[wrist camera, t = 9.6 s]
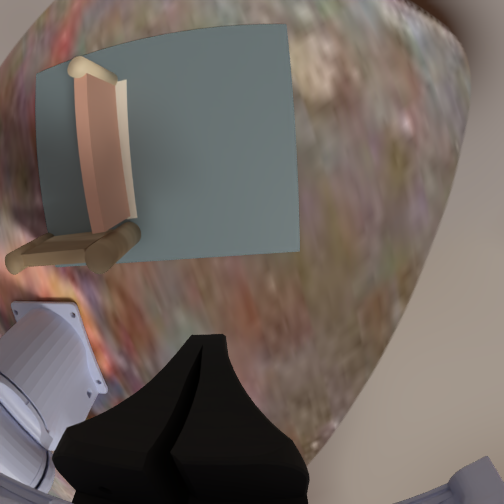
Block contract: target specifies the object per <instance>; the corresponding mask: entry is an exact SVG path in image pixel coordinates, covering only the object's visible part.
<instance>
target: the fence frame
mask: <svg viewBox="0 0 504 504" xmlns="http://www.w3.org/2000/svg"><path fill="white" fill-rule="evenodd" d="M140 239H141V230H140V228H139V227H138V225H137V224H135V223H133V222H126V223H124V224H122V225H121V226H119V227H118V228H116V229H114V230H113V229H112V230H107V231H106V232H101V233H95V234H92V232H85V233H76V234H67V235H59V236H54V235H53V234H51V233H46V234H44V235H42V236H40V237H38V238H37V239H35V240H33V241H31V242H29V243H27V244H25V245H23V246H21V247H20V248H18V249H16V250H14V251H12V252H10V253H9V254H7V255H6V257H5V265H6V267H7V269H8V271H9V272H10V273H11V274H14V275H16V274H18V273H19V272H21V271H22V270H24V269H25V268H27V267H31V266H46V265H61V264H75V263H86V265H87V266H88V268H89V269H90V270H91V271H92V272H94V273H97V274H103V273H105V272H107V271H108V270H109V269H110V268H111V267H112V266H113V265H114V264H115V263H116V262H117V261H118V260H120V259H121V258H122V257H123V256H124V255H125V254H126V253H127V252H128V251H129V250H130V249H131V248H132V247H134V246H135V245H136V244H137V243H138V242H139V241H140Z"/></svg>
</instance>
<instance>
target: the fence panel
mask: <svg viewBox="0 0 504 504" xmlns="http://www.w3.org/2000/svg"><path fill="white" fill-rule="evenodd" d="M67 72H68V74H69V76H71V77H74V95H75V114H76V128H77V139H78V148H79V157H80V165H81V172H82V179H83V186H84V192H85V198H86V204H87V209H88V214H89V219H90V224H91V229H92V234H95V233H101V232H106V231H107V230H109V229H110V228H112V227H114V226H115V225H117V224H118V223H120V222H122V221H123V220H125V219H127V218H128V217H130V216H131V215H130V210H129V204H128V198H127V192H126V185H125V179H124V172H123V164H122V156H121V148H120V139H119V130H118V119H117V107H116V92H115V85H116V84H117V81H118V78H117V75H116V74H114V73H113V72H111V71H109V70H107V69H105V68H103V67H102V66H100V65H98V64H96V63H94V62H92V61H90V60H88V59H86V58H84V57H82V56H77V57H75V58H74V59H72V60H71V62H70V63H69V65H68V68H67Z"/></svg>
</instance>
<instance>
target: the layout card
mask: <svg viewBox="0 0 504 504" xmlns="http://www.w3.org/2000/svg"><path fill="white" fill-rule="evenodd" d="M82 57H84V58H86V59H88V60H90V61H92V62H94V63H96V64H98V65H100V66H102V67H103V68H105V69H107V70H109V71H111V72H113V73H114V74H116V75H117V78H118V81H117V84H116V85H115V92H116V107H117V119H118V130H119V139H120V148H121V156H122V164H123V172H124V179H125V185H126V192H127V198H128V204H129V210H130V215H131V216H130V217H128V218H127V219H125V220H123V221H122V222H120V223H118V224H117V225H115V226H114V227H112V228H110V229H109V230H112V229H113V230H114V229H116V228H118V227H119V226H121V225H122V224H124V223H126V222H133V223H135V224H137V225H138V227H139V228H140V230H141V239H140V241H139V242H138V243H137V244H136V245H135V246H134V247H132V248H131V249H130V250H129V251H128V252H127V253H126V254H125V255H124V256H123V257H122V258H121V259H120V260H118V261H117V262H116V263H129V262H145V261H160V260H175V259H191V258H206V257H221V256H236V255H251V254H266V253H281V252H296V251H300V237H299V199H298V173H297V152H296V134H295V118H294V104H293V90H292V78H291V66H290V55H289V45H288V35H287V26H286V24H259V25H237V26H224V27H213V28H204V29H196V30H189V31H182V32H176V33H170V34H165V35H159V36H154V37H150V38H145V39H140V40H136V41H132V42H128V43H124V44H120V45H116V46H113V47H109V48H106V49H102V50H99V51H96V52H93V53H90V54H87V55H84V56H82ZM70 62H71V60H69V61H67V62H64V63H61V64H59V65H56V66H54V67H51V68H49V69H47V70H44V71H42V72H40V73H37V74H36V101H35V114H36V143H37V157H38V169H39V178H40V186H41V194H42V201H43V207H44V214H45V219H46V225H47V230H48V233H51V234H53V235H54V236H59V235H67V234H76V233H85V232H92V229H91V224H90V219H89V214H88V209H87V204H86V198H85V192H84V186H83V179H82V172H81V165H80V157H79V148H78V139H77V128H76V114H75V95H74V77H71V76H69V74H68V72H67V68H68V65H69V63H70ZM82 265H86V263H75V264H61V265H55V266H56V267H66V266H82Z"/></svg>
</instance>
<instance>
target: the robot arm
mask: <svg viewBox="0 0 504 504" xmlns="http://www.w3.org/2000/svg"><path fill="white" fill-rule="evenodd" d="M11 308H12V311H13V314H14V316H15V319H16V322H17V323H16V324H14V325H13V326H12V327H11V328H10V329H9V330H8V331H7V332H6V333H5V334H4V335H3V336H2V337H1V338H0V504H308V499H307V490H308V485H309V473H308V470H307V467H306V464H305V462H304V460H303V458H302V456H301V454H300V453H299V451H298V449H297V448H296V446H295V444H294V443H293V441H292V440H291V439H290V438H289V437H287V436H286V435H285V434H284V433H282V432H281V431H280V430H279V429H278V428H277V427H276V426H275V425H274V424H272V423H271V422H270V421H269V420H268V419H267V418H266V416H265V415H264V414H263V413H262V412H261V411H260V410H259V408H258V407H257V406H256V405H255V404H254V402H253V401H252V400H251V398H250V397H249V396H248V394H247V393H246V391H245V390H244V388H243V386H242V385H241V383H240V381H239V379H238V377H237V375H236V374H235V371H234V369H233V367H232V364H231V362H230V359H229V357H228V349H227V342H226V336H225V335H223V334H211V335H191V336H190V337H189V339H188V340H187V341H186V342H185V344H184V345H183V346H182V347H181V348H180V350H179V351H178V352H177V353H176V355H175V356H174V357H173V358H172V359H171V360H170V361H169V362H168V364H167V365H166V366H165V367H164V368H163V369H162V370H161V371H160V372H159V373H158V374H157V375H156V376H155V377H154V378H153V379H152V380H151V381H150V382H149V383H147V384H146V385H145V386H144V387H143V388H141V389H140V390H139V391H137V392H136V393H135V394H133V395H132V396H130V397H129V398H127V399H126V400H124V401H123V402H121V403H120V404H118V405H117V406H115V407H113V408H111V409H109V410H108V411H106V412H104V413H102V414H100V415H98V416H95V417H93V418H91V419H88V420H86V421H85V419H86V417H87V415H88V413H89V411H90V409H91V407H92V405H93V403H94V401H95V399H96V397H97V395H98V393H103V394H105V393H107V391H108V387H107V385H106V383H105V380H104V378H103V376H102V373H101V371H100V368H99V366H98V364H97V361H96V358H95V356H94V353H93V351H92V348H91V345H90V342H89V340H88V337H87V334H86V331H85V328H84V325H83V322H82V319H81V316H80V313H79V310H78V307H77V305H76V304H75V303H74V302H35V301H13V302H12V303H11ZM72 312H73V313H74V314H75V315H74V314H73V313H72ZM52 450H55V451H54V453H53V454H52V453H51V451H52ZM55 467H56V469H57V470H58V472H59V473H60V474H61V475H62V476H63V477H64V478H65V479H66V480H67V482H68V483H69V484H70V485H71V486H72V487H73V488H74V489H75V490H76V492H75V495H74V498H73V501H72V503H71V502H68V501H65V500H63V499H60V498H57V497H54V496H52V495H49V494H47V493H48V492H49V490H50V488H51V486H52V484H53V481H54V477H55ZM394 504H504V482H503V481H502V479H501V477H500V475H499V474H498V472H497V470H496V469H495V467H494V465H493V464H492V462H491V460H490V459H489V457H488V456H485V457H483V458H481V459H479V460H477V461H475V462H473V463H471V464H469V465H467V466H465V467H463V468H462V469H460V470H459V471H457V472H456V473H455V474H454V475H453V476H452V477H451V478H450V480H449V482H448V483H447V484H444V485H442V486H440V487H437V488H435V489H432V490H430V491H428V492H425V493H423V494H420V495H417V496H415V497H412V498H409V499H406V500H403V501H400V502H397V503H394Z"/></svg>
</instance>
